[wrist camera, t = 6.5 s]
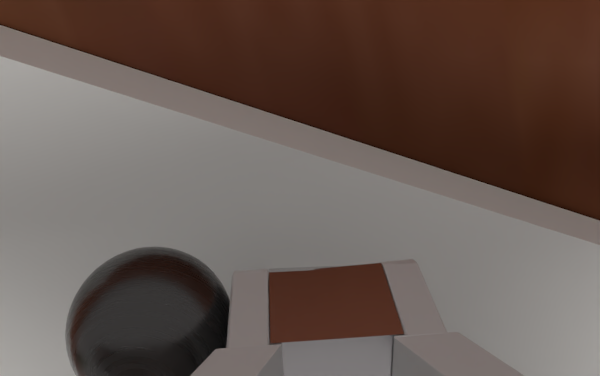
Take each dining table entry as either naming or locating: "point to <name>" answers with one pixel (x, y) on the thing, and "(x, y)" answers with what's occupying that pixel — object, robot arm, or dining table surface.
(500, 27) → the dining table surface
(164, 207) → the stand
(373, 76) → the dining table surface
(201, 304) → the capstan
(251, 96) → the dining table surface
